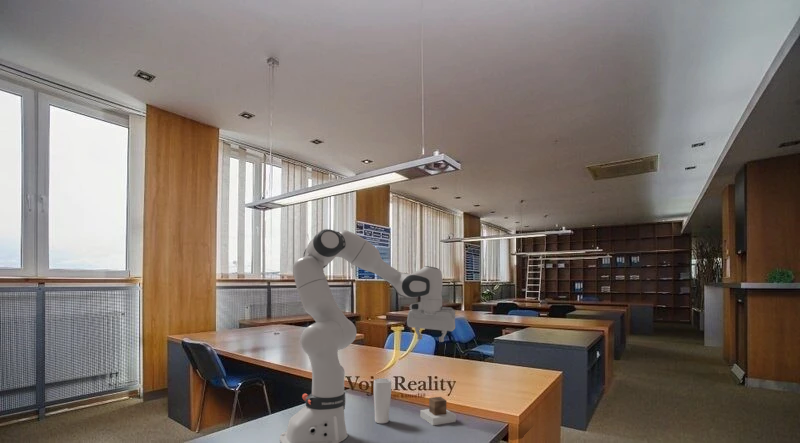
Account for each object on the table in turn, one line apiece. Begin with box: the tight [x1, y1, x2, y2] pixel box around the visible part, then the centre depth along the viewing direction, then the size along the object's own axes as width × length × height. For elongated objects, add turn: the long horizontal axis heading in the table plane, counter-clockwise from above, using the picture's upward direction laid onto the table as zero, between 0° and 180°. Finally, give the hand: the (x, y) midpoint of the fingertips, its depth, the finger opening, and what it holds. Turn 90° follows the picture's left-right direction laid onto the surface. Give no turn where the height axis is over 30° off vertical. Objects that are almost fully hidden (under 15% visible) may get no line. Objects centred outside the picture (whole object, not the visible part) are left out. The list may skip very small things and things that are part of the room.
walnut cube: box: [428, 396, 447, 415], centre depth 161 cm, size 5×5×5 cm
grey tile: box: [419, 408, 457, 426], centre depth 161 cm, size 10×10×2 cm
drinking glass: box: [373, 377, 392, 425], centre depth 158 cm, size 7×7×15 cm
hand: (430, 340), depth 170 cm, fingers open, 8 cm apart
